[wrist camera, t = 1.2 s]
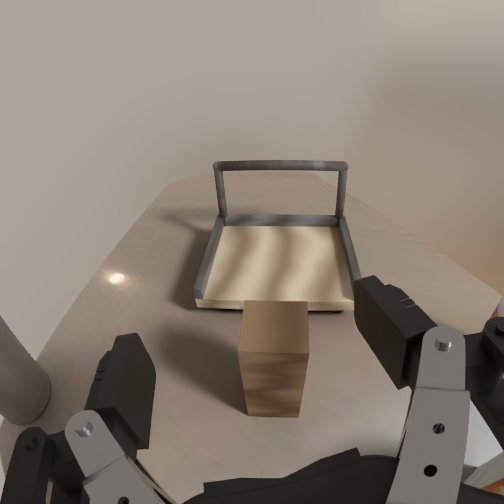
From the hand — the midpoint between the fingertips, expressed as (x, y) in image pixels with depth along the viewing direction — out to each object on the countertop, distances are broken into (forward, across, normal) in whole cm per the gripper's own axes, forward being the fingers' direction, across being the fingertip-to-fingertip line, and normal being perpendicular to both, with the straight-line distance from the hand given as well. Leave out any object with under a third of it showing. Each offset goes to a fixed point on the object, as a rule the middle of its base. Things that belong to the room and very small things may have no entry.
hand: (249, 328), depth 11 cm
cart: (+30, -6, +15) cm, 35 cm away
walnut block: (+13, 0, +19) cm, 23 cm away
